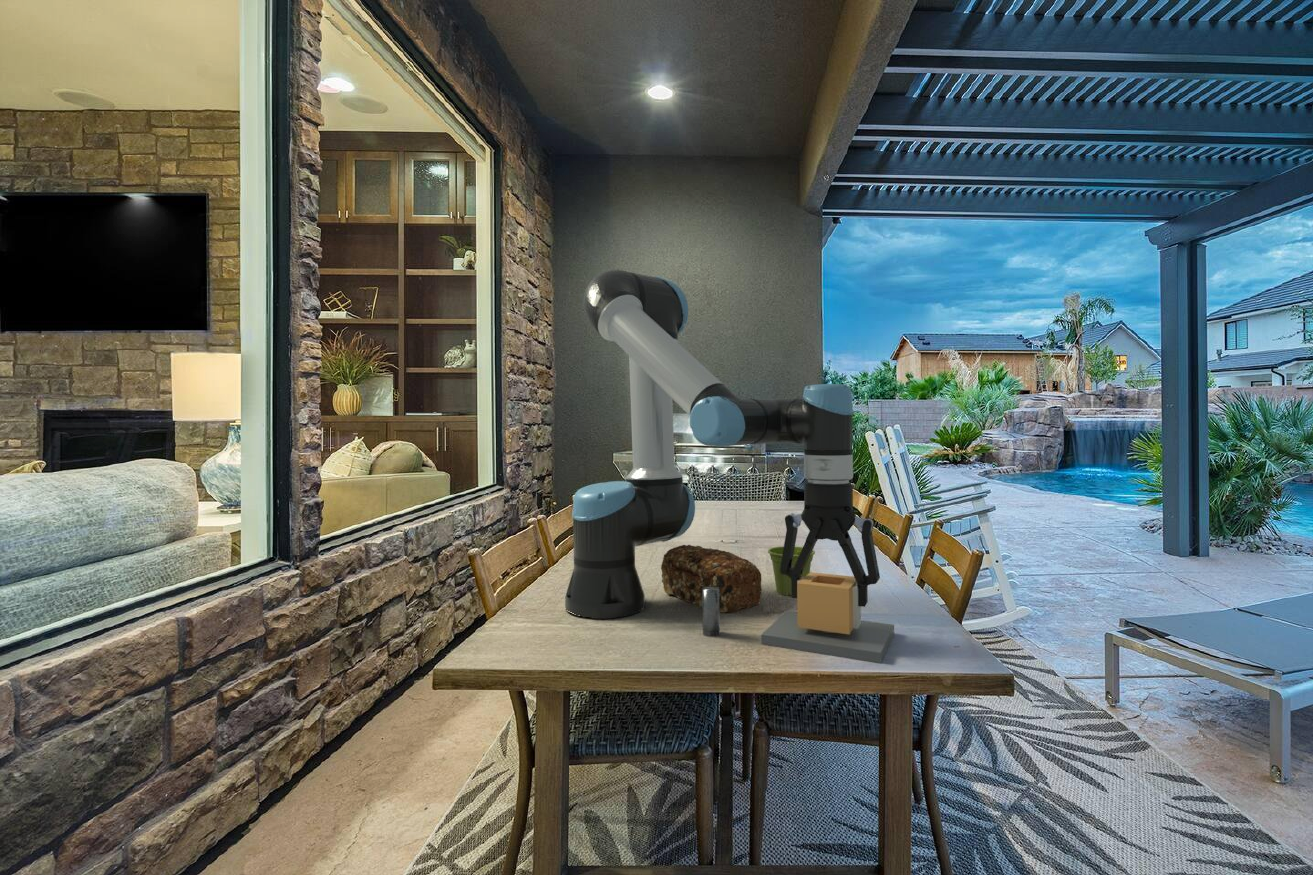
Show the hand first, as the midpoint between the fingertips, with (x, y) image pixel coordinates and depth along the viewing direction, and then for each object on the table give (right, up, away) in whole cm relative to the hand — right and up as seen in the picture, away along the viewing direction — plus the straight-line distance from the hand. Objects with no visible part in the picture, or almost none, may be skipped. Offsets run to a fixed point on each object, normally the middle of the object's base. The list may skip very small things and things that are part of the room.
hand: (828, 621), depth 103 cm
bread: (-17, -3, +23) cm, 29 cm away
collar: (0, 0, 0) cm, 0 cm away
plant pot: (0, -2, +27) cm, 27 cm away
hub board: (0, -3, 0) cm, 3 cm away
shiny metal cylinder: (-19, -3, +3) cm, 19 cm away
